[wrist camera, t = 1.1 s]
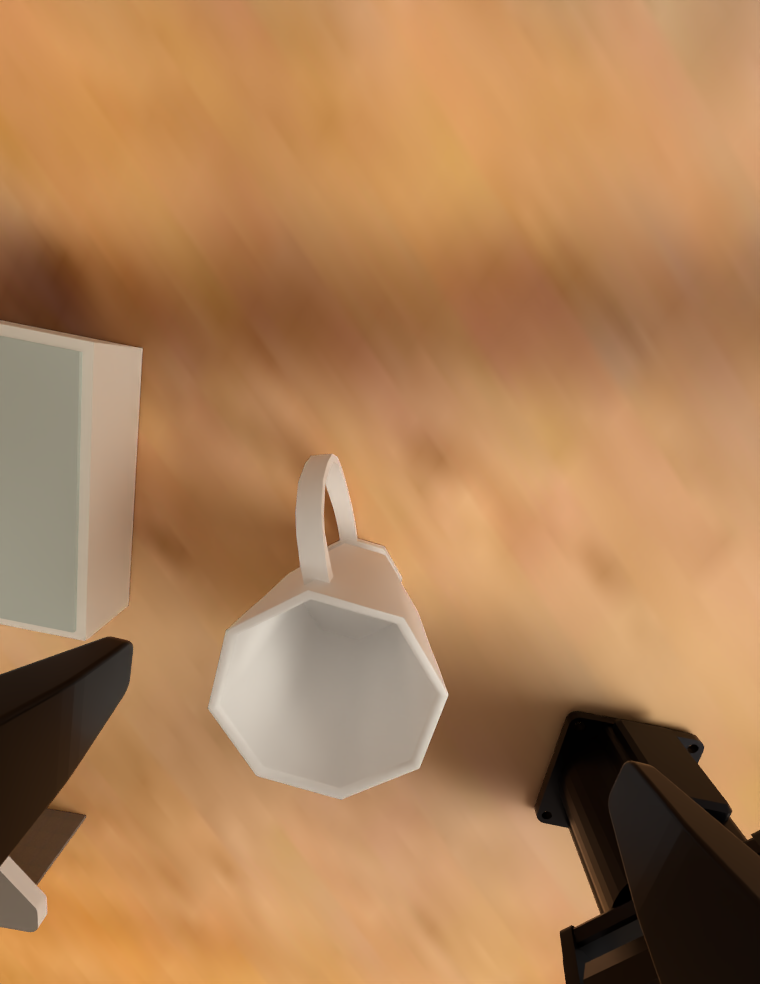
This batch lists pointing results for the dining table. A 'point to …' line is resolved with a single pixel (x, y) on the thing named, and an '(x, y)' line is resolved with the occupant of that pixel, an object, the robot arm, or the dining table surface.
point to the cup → (330, 661)
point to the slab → (66, 478)
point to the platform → (33, 869)
